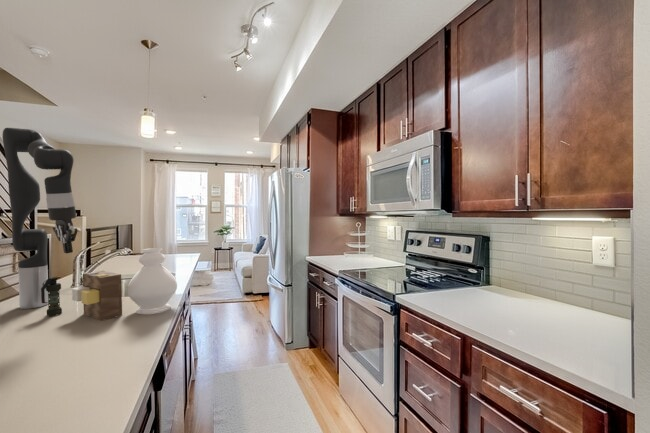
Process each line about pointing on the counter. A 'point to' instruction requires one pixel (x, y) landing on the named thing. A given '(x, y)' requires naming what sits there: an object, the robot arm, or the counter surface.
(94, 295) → the mustard button
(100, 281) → the brown wooden block
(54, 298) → the grenade
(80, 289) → the ivory button
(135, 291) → the decorative vase
